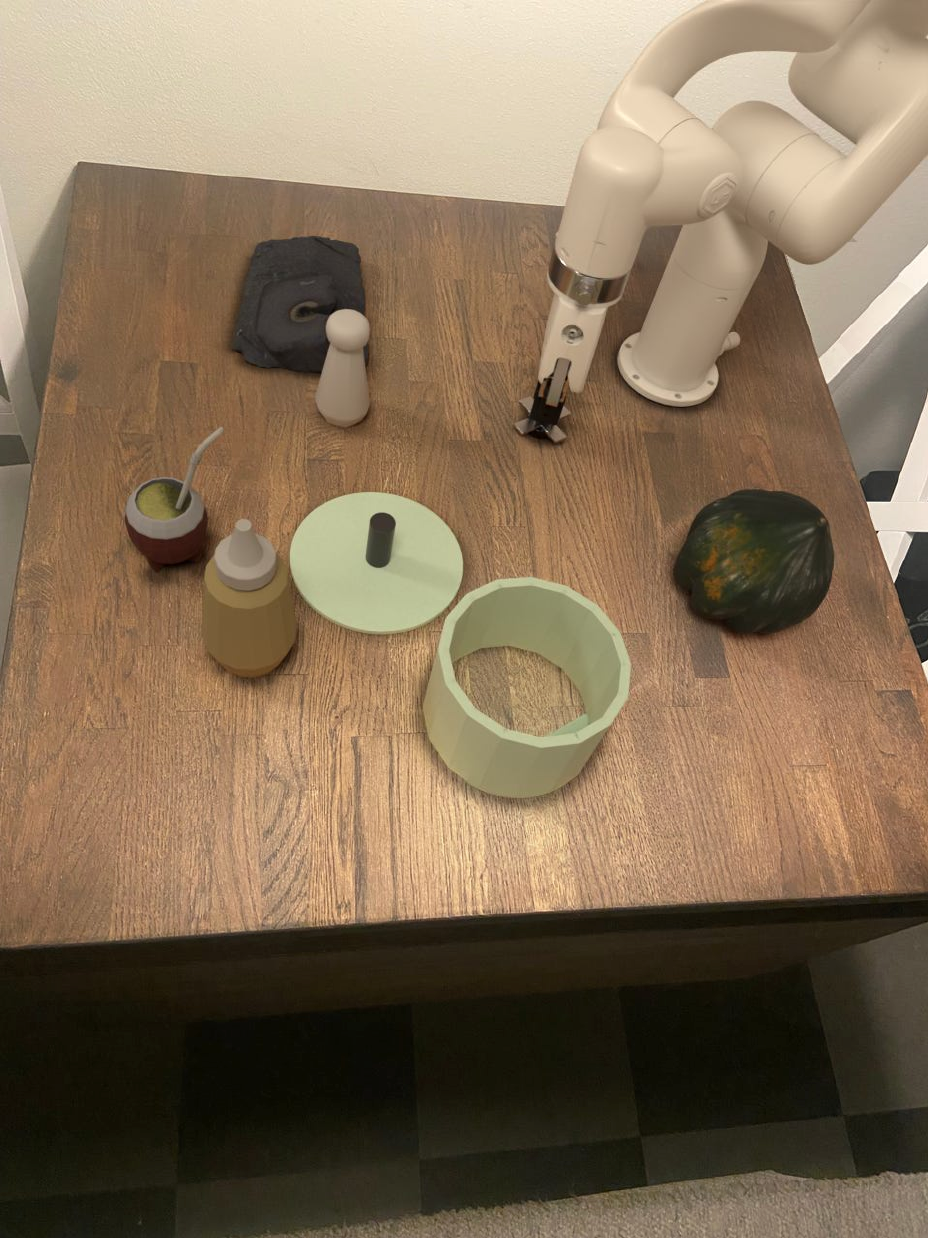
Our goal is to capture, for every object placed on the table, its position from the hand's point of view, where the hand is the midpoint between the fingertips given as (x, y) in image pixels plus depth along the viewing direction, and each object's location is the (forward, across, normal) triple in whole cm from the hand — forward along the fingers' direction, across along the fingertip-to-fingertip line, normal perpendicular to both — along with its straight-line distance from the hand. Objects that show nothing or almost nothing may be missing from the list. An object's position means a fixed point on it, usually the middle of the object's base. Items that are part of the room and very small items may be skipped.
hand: (545, 410), depth 101 cm
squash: (+3, -16, -23) cm, 29 cm away
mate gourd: (+2, -29, +31) cm, 43 cm away
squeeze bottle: (+2, -37, +22) cm, 43 cm away
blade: (+3, 0, 0) cm, 3 cm away
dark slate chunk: (+3, +10, +30) cm, 32 cm away
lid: (+2, -24, +13) cm, 28 cm away
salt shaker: (+3, -6, +22) cm, 22 cm away
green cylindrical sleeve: (+2, -37, -3) cm, 37 cm away
